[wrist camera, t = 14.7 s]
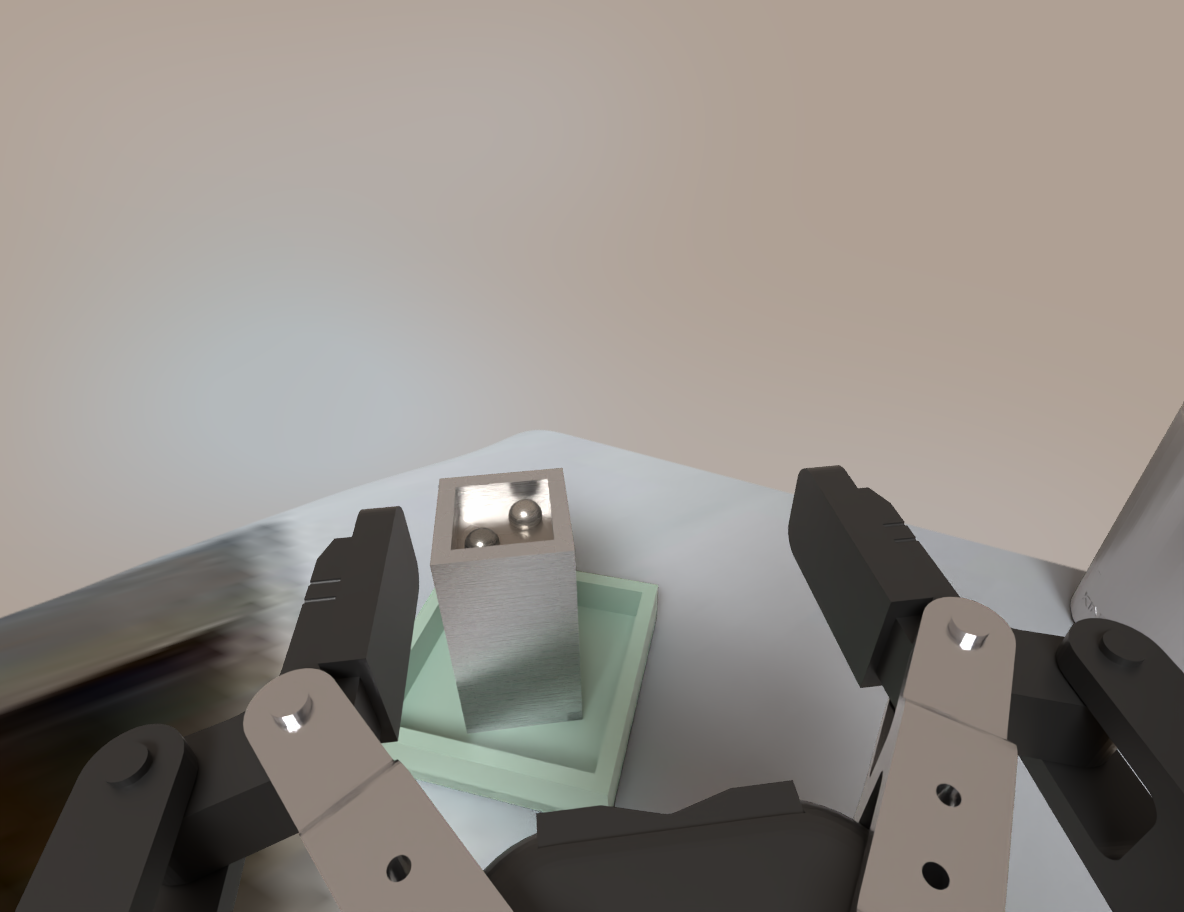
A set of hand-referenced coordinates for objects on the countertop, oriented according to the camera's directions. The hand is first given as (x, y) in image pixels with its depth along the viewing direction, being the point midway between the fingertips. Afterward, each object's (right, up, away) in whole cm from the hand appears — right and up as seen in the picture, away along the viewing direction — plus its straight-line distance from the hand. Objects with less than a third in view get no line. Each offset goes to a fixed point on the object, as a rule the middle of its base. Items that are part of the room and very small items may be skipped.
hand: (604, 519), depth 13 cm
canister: (-4, -11, +23) cm, 26 cm away
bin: (-4, -12, +24) cm, 27 cm away
